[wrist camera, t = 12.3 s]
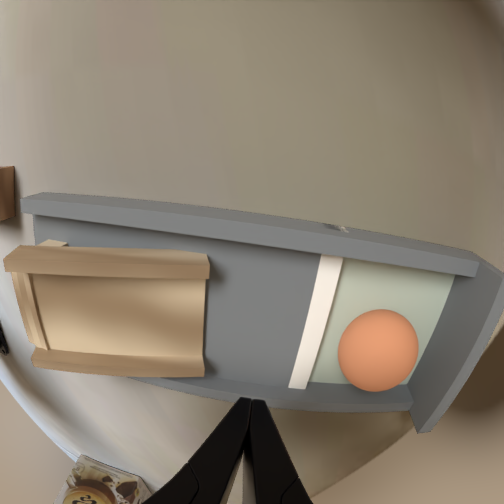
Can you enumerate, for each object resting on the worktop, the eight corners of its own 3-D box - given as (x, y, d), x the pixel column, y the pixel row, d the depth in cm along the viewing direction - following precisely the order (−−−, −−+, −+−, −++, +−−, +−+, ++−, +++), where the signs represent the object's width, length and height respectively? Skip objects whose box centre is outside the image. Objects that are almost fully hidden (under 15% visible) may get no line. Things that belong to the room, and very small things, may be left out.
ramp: (212, 351, 16) (188, 424, 11) (70, 314, 16) (21, 359, 11) (220, 248, 14) (185, 305, 8) (58, 224, 14) (-8, 255, 9)
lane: (412, 389, 16) (430, 431, 12) (61, 331, 17) (30, 362, 13) (472, 251, 12) (514, 280, 9) (42, 192, 14) (-5, 206, 10)
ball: (368, 421, 10) (411, 385, 12) (406, 352, 9) (443, 323, 11) (312, 372, 13) (361, 348, 15) (333, 304, 12) (382, 288, 14)
